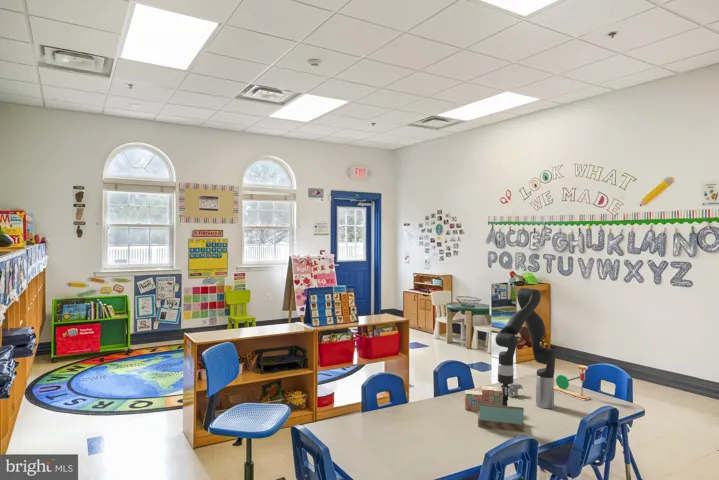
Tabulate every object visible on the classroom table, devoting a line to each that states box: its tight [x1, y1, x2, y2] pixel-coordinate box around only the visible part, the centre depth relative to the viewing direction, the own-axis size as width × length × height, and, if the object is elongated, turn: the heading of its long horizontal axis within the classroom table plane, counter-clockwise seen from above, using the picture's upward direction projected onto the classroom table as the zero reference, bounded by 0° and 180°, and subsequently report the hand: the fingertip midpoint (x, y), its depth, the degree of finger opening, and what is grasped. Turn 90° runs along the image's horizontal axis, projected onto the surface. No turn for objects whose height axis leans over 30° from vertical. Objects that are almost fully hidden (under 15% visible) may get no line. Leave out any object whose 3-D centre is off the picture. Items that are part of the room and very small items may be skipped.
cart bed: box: [477, 406, 525, 433], centre depth 238 cm, size 22×12×6 cm, turn 76°
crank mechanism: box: [554, 364, 591, 400], centre depth 289 cm, size 25×7×19 cm, turn 31°
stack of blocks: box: [464, 385, 503, 412], centre depth 258 cm, size 21×6×12 cm, turn 80°
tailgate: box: [479, 403, 525, 425], centre depth 231 cm, size 21×1×8 cm, turn 76°
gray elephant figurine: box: [508, 381, 524, 398], centre depth 284 cm, size 9×12×8 cm
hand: (504, 407), depth 233 cm, fingers closed
